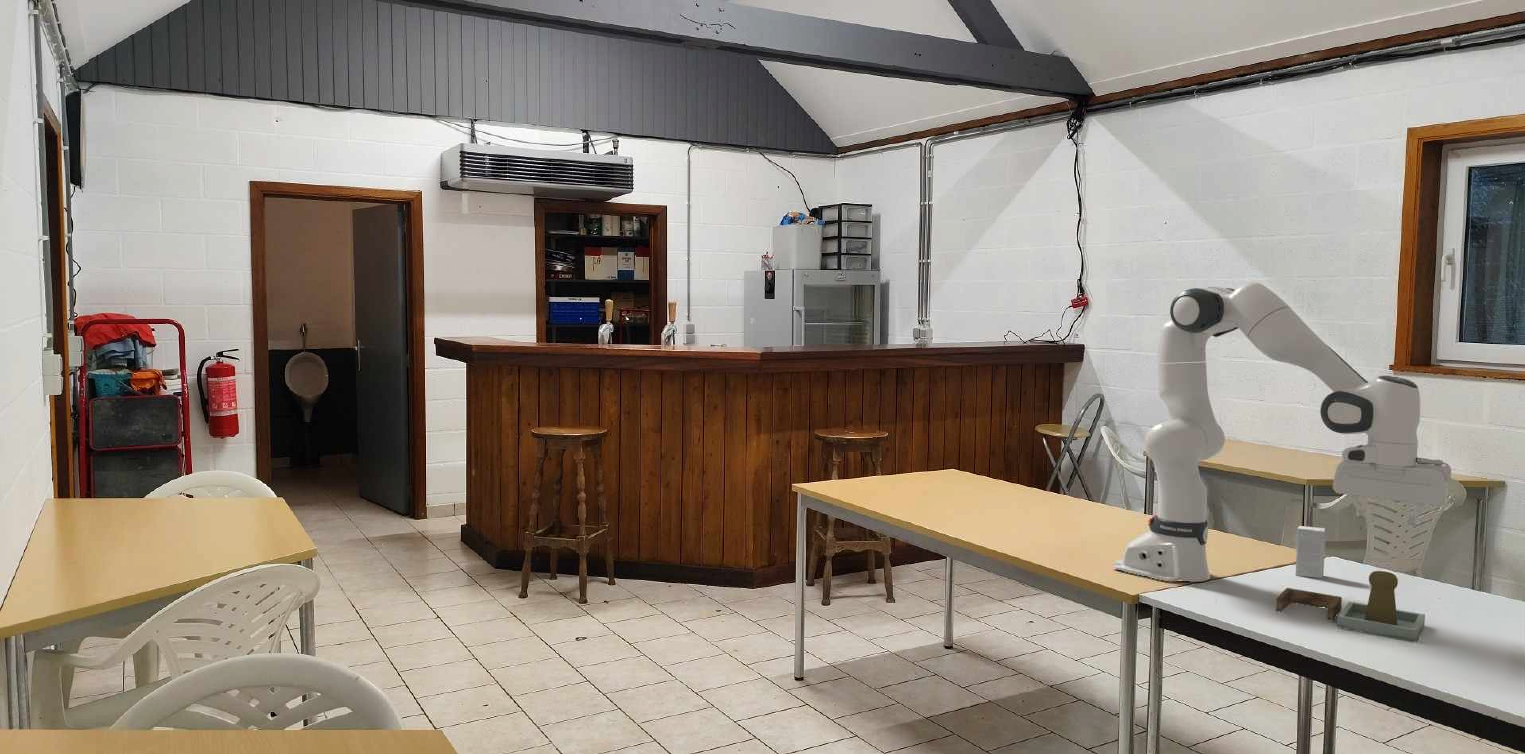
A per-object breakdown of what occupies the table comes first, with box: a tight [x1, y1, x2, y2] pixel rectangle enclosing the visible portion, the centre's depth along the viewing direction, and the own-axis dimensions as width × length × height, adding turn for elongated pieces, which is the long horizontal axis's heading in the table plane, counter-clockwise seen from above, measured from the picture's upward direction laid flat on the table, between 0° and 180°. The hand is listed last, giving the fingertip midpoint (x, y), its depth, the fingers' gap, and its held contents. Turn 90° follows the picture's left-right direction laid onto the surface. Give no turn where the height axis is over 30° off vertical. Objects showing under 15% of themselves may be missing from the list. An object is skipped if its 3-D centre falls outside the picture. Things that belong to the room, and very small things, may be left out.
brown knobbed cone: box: [1364, 570, 1399, 626], centre depth 211 cm, size 6×6×11 cm
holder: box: [1275, 587, 1343, 622], centre depth 222 cm, size 11×10×3 cm
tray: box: [1336, 601, 1426, 643], centre depth 211 cm, size 14×14×2 cm
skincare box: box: [1295, 525, 1326, 580], centre depth 252 cm, size 6×4×12 cm
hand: (1386, 520), depth 210 cm, fingers open, 8 cm apart
